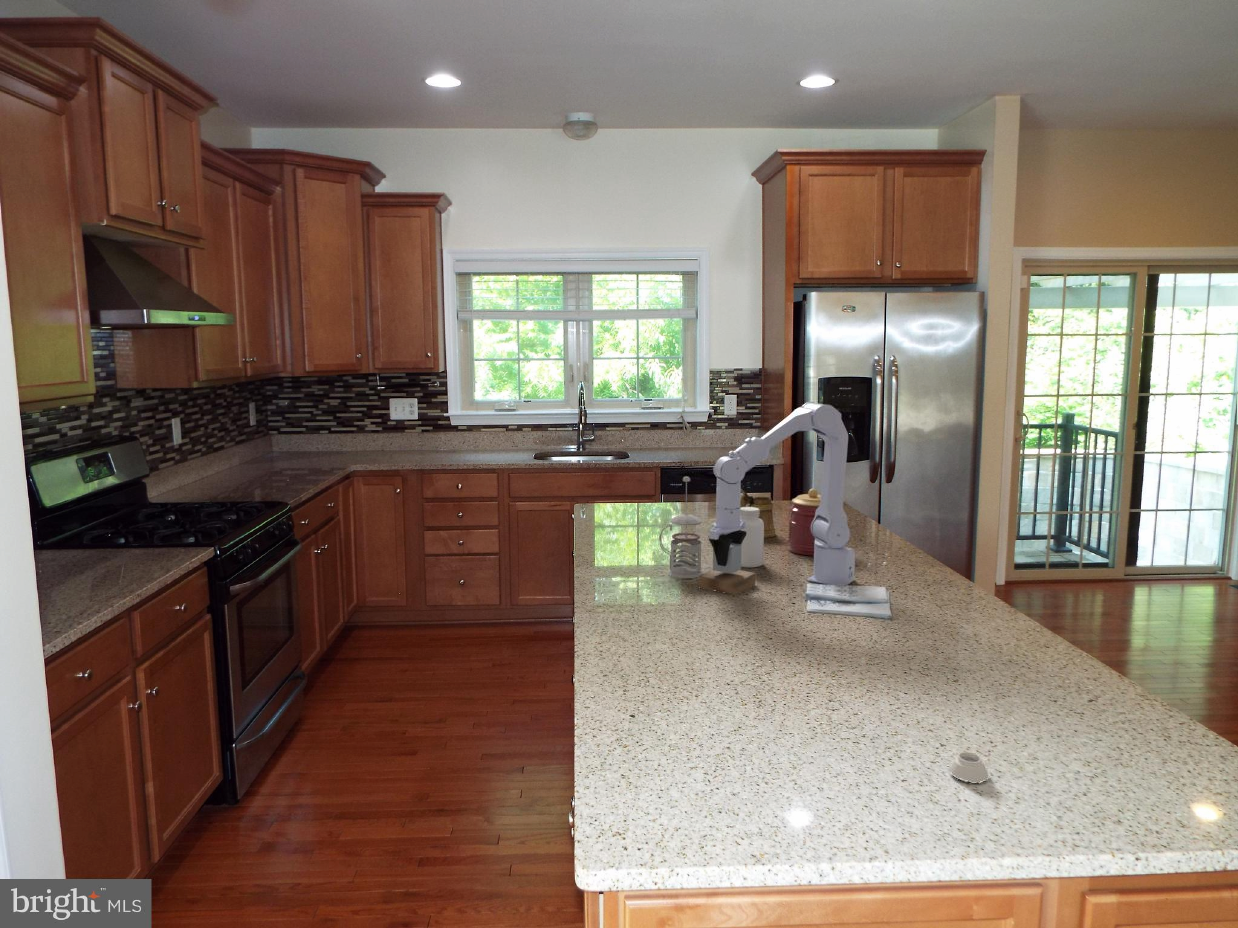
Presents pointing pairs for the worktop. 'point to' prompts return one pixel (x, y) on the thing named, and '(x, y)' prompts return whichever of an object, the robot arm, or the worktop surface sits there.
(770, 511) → the brass mortar and pestle
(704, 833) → the worktop surface
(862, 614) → the white bicycle print cloth
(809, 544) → the canister
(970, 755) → the upturned beige bowl
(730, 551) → the slate cube
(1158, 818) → the worktop surface
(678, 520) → the french press
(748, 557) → the pill bottle
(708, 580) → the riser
